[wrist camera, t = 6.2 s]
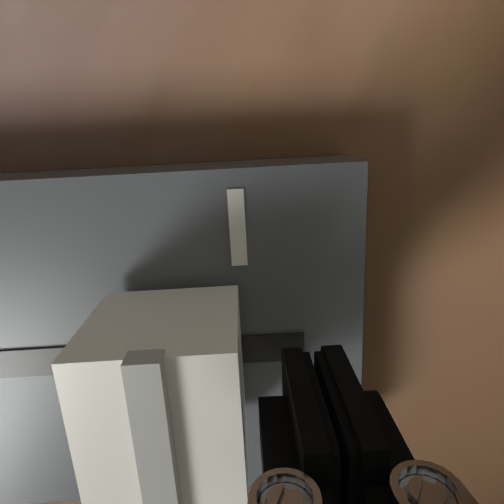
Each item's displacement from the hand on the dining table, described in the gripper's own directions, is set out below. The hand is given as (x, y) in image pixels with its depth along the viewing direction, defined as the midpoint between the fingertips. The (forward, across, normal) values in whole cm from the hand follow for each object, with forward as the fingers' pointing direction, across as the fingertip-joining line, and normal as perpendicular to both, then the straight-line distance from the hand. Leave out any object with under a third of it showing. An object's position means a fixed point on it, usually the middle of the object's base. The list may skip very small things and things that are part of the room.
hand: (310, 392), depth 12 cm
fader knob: (+2, +4, 0) cm, 4 cm away
